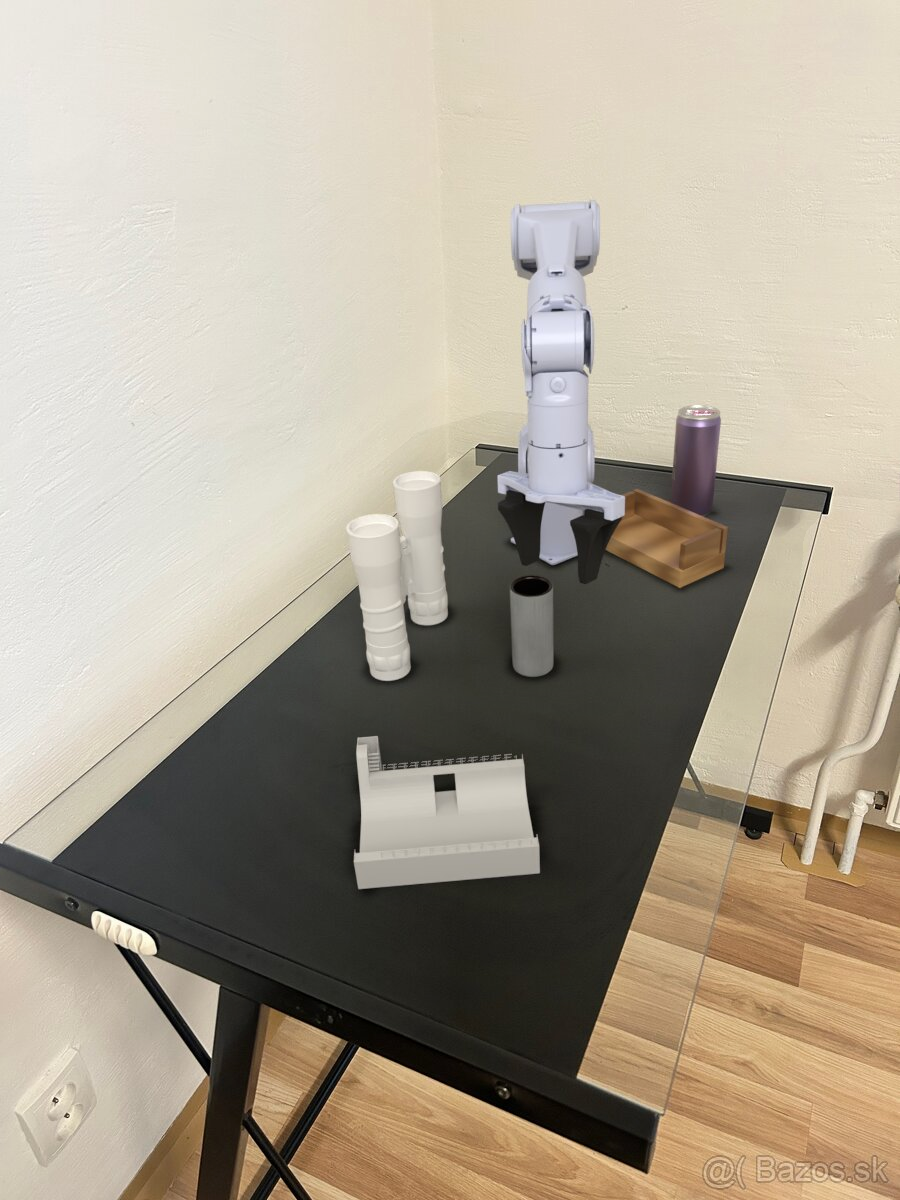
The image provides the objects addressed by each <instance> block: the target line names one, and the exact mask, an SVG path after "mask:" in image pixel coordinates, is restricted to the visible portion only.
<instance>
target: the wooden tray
mask: <svg viewBox="0 0 900 1200" xmlns="http://www.w3.org/2000/svg"><path fill="white" fill-rule="evenodd" d="M621 495H622V496H625V515H624V516H622V520H621V521H620V523H619V524H618V526H617V528H616V529H615V531H614V533H613V534H612V536H611V538H610V540H609V542H608V545H607V547H606V550H605V551H607V552H609V553H611V554H613V556H614V555H615V556H617V557H618V558H620V559H623V560H624V561H626V562H628V563H630V564H632V565H633V566H636V567H638V568H640V569H642V570H644V571H646V572H648V573H649V574H652V575H653V576H655V577H657V578H659V579H660V580H663V581H665V582H666V583H669V584H671V585H673V586H675V587H676V588H679V589H681V588H683V587H686V586H687V585H690V584H692V583H694V582H696V581H698V580H701V579H703V578H705V577H708V576H710V575H711V574H714V573H716V572H718V571H720V570H723V569H724V567H725V557H726V552H727V551H726V549H727V539H728V530H729V526H726V525H724V524H723V523H719V522H717V521H715V520H713V519H711V518H708V517H706V516H704V517H703V516H701V515H698V514H696V513H694V512H691V511H689V510H687V509H684V508H682V507H679V506H677V505H675V504H672V503H670V502H671V501H667V500H665V499H663V498H660V497H659V496H655V495H654V494H652V493H649V492H646V491H644V490H642V489H639V488H636V489H633V491H632V490H631V491H628V492H625V493H623V494H621Z"/></svg>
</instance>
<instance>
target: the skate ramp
mask: <svg viewBox="0 0 900 1200" xmlns="http://www.w3.org/2000/svg"><path fill="white" fill-rule="evenodd" d="M356 739H357V741H356V742H357V743H356V750H355V751H356V753H355V754H356V766H357V775H358V776H357V777H358V778H357V779H358V785H359V786H358V787H359V797H360V799H359V800H360V814H361V817H360V835H359V836H360V837H359V852H356V850H354V852H353V854H354V855H353V866H354V871H355V878H356V884H357V889H358V890H365V889H375V888H376V889H377V888H387V887H388V888H389V887H398V886H399V887H400V886H409V885H420V884H433V883H444V882H456V881H467V880H477V879H478V880H481V879H491V878H501V877H514V876H524V875H535V874H540V873H541V867H540V866H541V864H540V859H541V858H540V856H541V855H540V841H539V837H538V835H536V837H534V831H533V826H532V820H531V815H530V809H529V803H528V796H527V786H526V773H525V771H526V769H525V762H524V755H523V754H521V758H517V756H515V759H509V758H510V755H511V753H507V754H505V759H503V760H499V757H498V756H500V754H498V755H497V754H496V755H494V757H493V758H492V760H493V761H485V760H487V758H485V757H488V755H487V756H486V755H484V756H483V758H481V761H482V762H481V761H480V762H474V761H475V759H476V758H477V756H473V757H472V756H471V757H470V759H469V762H471V763H463V762H464V760H465V757H460V758H458V760H460V761H457V764H451V761H452V760H453V758H452V759H451V758H450V759H447V761H446V764H447V765H440V762H441V761H442V759H439V760H438V759H437V760H435V762H437V763H434V765H436V766H434V765H433V766H428V765H430V760H428V761H427V760H425V761H423V763H425V764H422V766H423V767H417V764H418V761H416V762H415V761H414V762H412V764H414V765H412V764H411V768H406V766H407V762H402V763H400V766H399V768H401V769H395V768H396V763H390V764H389V766H390V767H388V769H389V770H385V767H384V766H385V765H383V764H382V757H381V749H380V742H379V741H380V740H379V736H378V735H373V736H363V737H359V736H358V737H357V738H356ZM474 758H475V759H474ZM463 759H464V760H463ZM497 759H498V760H497ZM401 765H403V766H401ZM448 774H449V775H451V774H454V783H455V790H444V791H436V789H435V788H436V787H435V778H434V776H438V775H448Z"/></svg>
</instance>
